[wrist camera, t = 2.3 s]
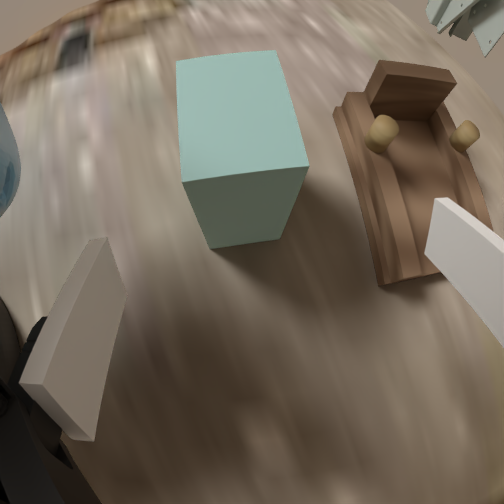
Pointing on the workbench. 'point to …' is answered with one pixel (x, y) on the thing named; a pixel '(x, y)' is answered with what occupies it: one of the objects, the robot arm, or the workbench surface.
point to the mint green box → (238, 146)
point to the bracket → (469, 19)
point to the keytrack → (406, 163)
